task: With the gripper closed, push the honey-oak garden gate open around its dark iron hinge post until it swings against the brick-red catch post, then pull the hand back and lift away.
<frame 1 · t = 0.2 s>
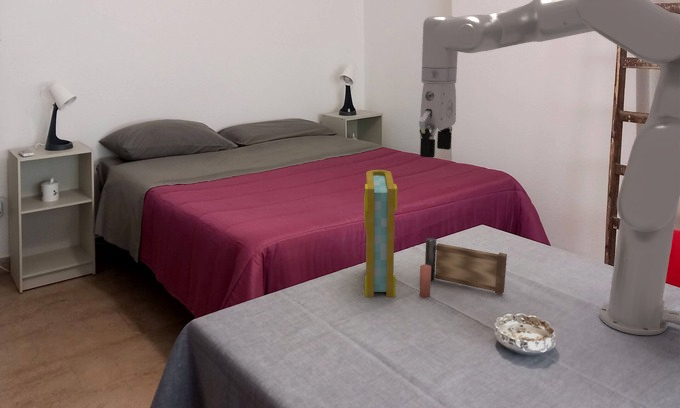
hand: (435, 152, 139), 30 cm above the table, fingers open, 9 cm apart
catch post: (424, 295, 138), on the table
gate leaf: (469, 267, 140), point 5 cm above the table, hinge at 0.0°
gate post: (429, 279, 146), on the table
book: (378, 282, 146), on the table
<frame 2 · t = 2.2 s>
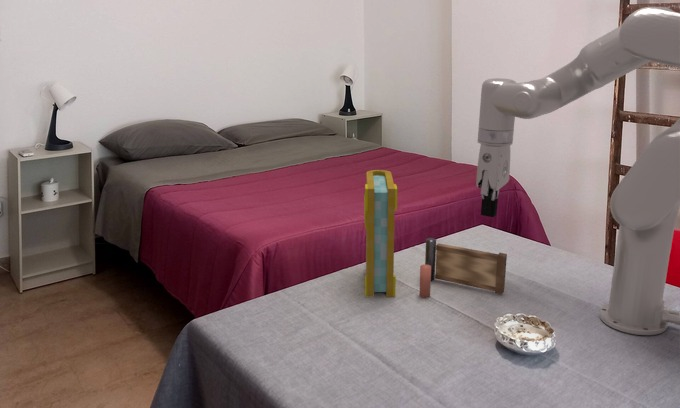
hand: (488, 215, 141), 16 cm above the table, fingers closed
nothing on the table moved.
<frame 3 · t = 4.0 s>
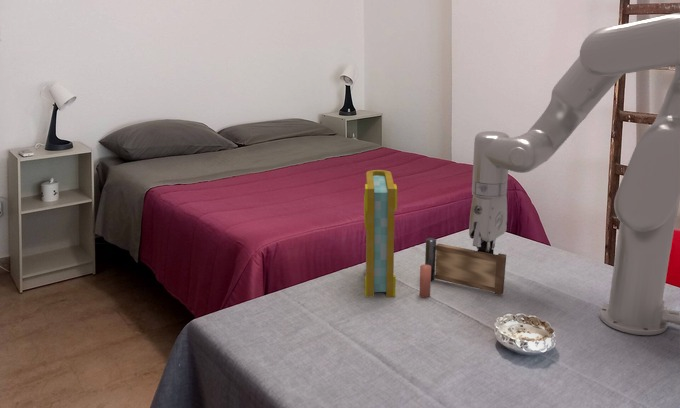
hand: (484, 264, 141), 5 cm above the table, fingers closed
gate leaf: (469, 268, 140), point 5 cm above the table, hinge at 1.7°, touching gripper
everything else where it was.
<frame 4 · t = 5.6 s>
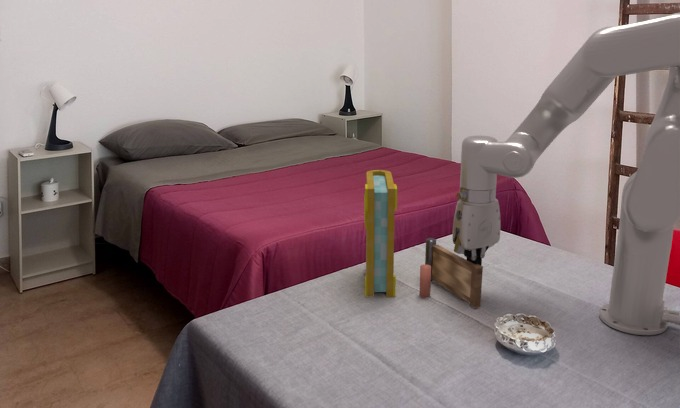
hand: (473, 274, 136), 5 cm above the table, fingers closed
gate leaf: (455, 274, 137), point 5 cm above the table, hinge at 32.3°, touching gripper
everything else where it was.
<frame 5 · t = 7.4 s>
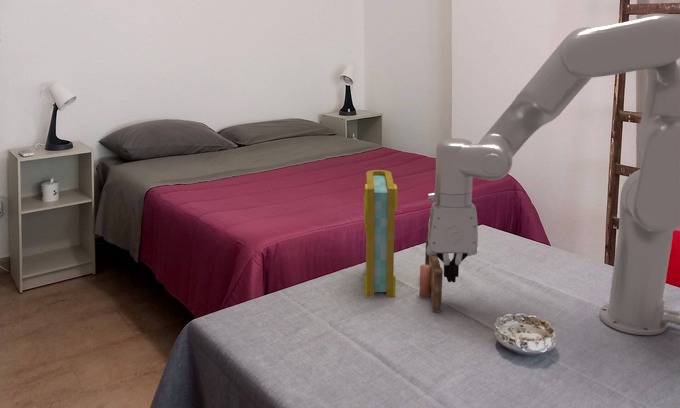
hand: (450, 279, 133), 5 cm above the table, fingers closed
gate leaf: (434, 276, 136), point 5 cm above the table, hinge at 62.1°, touching catch post, gripper
everything else where it was.
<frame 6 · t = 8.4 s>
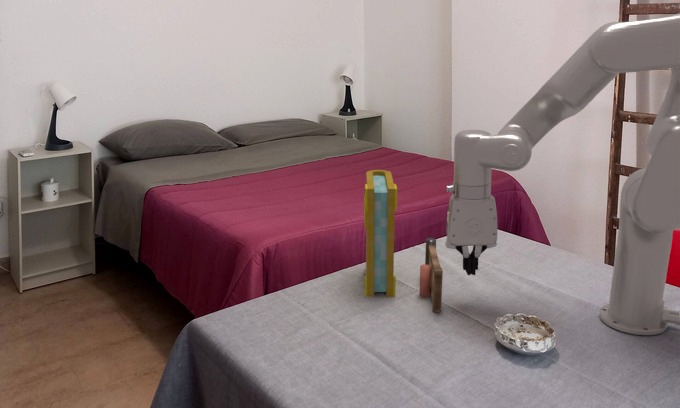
hand: (470, 272, 133), 7 cm above the table, fingers closed
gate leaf: (434, 276, 136), point 5 cm above the table, hinge at 62.0°, touching catch post
everything else where it was.
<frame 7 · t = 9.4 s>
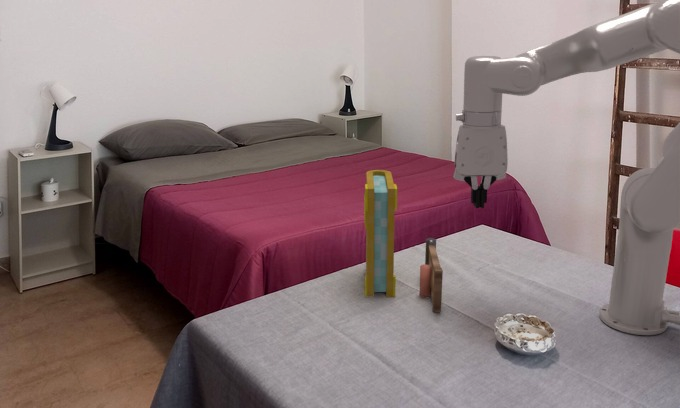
hand: (478, 206, 129), 22 cm above the table, fingers closed
nothing on the table moved.
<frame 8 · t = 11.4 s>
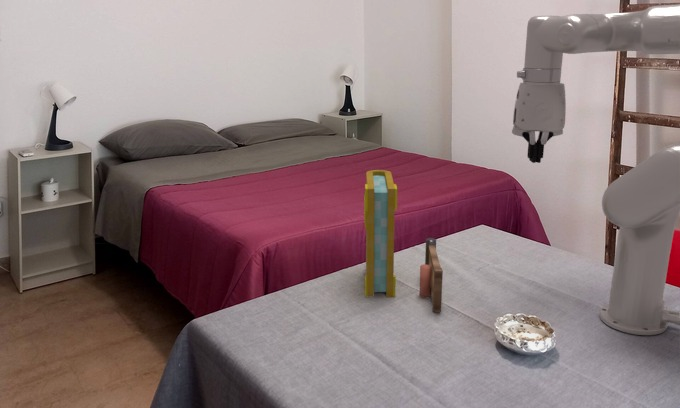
hand: (534, 161, 135), 29 cm above the table, fingers closed
nothing on the table moved.
at the end: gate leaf at +62° (first picture: +0°); book moved 0.2 cm from its start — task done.
